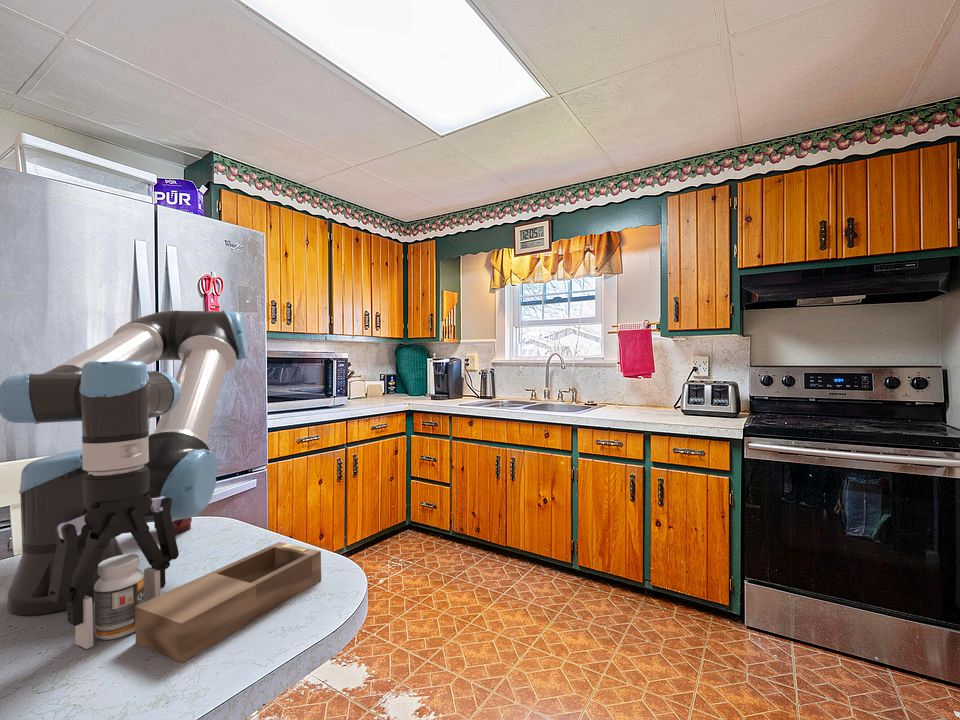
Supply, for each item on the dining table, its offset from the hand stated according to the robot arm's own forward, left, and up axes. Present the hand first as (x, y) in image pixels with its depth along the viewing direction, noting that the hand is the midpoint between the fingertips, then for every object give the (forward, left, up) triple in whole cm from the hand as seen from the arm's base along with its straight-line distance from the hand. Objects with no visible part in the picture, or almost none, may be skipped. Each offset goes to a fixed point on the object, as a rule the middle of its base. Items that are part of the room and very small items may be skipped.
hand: (120, 627), depth 67 cm
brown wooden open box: (+10, +11, 0) cm, 15 cm away
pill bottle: (0, 0, 0) cm, 0 cm away
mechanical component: (-32, +27, 0) cm, 42 cm away
